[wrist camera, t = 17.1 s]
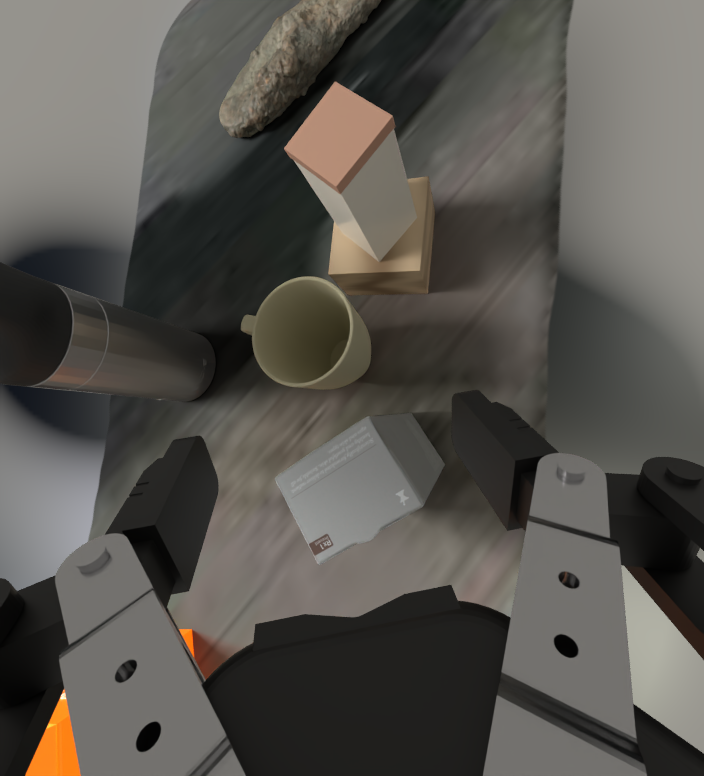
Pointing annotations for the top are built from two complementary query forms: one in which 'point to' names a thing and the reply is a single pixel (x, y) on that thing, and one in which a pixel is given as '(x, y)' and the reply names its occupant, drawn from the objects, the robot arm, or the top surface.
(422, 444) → the skincare box
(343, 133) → the canister
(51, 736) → the orange juice
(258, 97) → the long grey stone
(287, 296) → the mug
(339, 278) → the oak block
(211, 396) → the top surface
